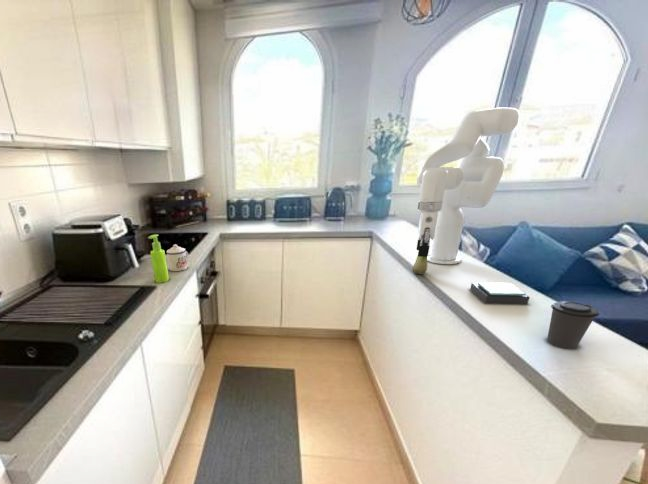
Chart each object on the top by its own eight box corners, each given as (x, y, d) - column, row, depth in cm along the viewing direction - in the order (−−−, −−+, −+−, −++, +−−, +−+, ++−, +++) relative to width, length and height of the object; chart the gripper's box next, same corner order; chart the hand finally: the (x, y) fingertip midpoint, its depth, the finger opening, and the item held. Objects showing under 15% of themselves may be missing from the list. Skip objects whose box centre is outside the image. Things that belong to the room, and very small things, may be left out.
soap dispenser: (151, 283, 148) (143, 236, 140) (160, 277, 154) (152, 233, 145) (163, 283, 146) (155, 236, 138) (171, 278, 152) (164, 233, 143)
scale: (470, 289, 116) (471, 281, 114) (508, 290, 113) (510, 282, 112) (484, 303, 105) (487, 294, 104) (527, 304, 102) (530, 295, 101)
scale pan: (477, 284, 112) (478, 282, 112) (509, 284, 110) (510, 282, 110) (490, 295, 104) (490, 293, 104) (525, 295, 102) (525, 293, 102)
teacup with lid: (178, 272, 159) (175, 247, 154) (165, 270, 164) (161, 246, 159) (195, 265, 167) (192, 241, 163) (182, 263, 173) (179, 240, 168)
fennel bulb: (425, 276, 130) (431, 245, 125) (411, 275, 132) (416, 244, 127) (426, 271, 135) (431, 241, 130) (412, 270, 137) (416, 241, 132)
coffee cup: (594, 347, 80) (611, 308, 76) (569, 354, 78) (584, 315, 74) (555, 332, 87) (568, 296, 83) (531, 339, 85) (543, 302, 81)
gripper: (444, 209, 114) (435, 259, 121) (439, 203, 129) (431, 248, 136) (419, 209, 117) (411, 258, 124) (416, 203, 132) (409, 247, 139)
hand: (421, 253), depth 130 cm, fingers open, 9 cm apart
